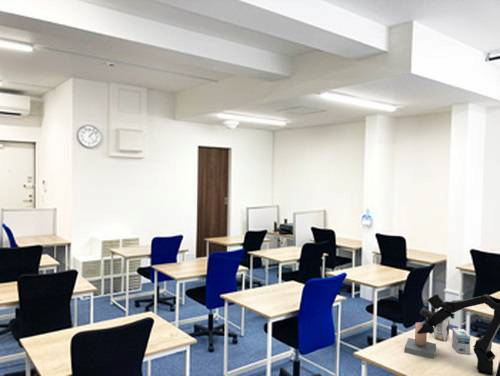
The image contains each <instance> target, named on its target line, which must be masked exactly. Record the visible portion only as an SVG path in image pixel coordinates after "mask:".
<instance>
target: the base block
mask: <svg viewBox="0 0 500 376" xmlns="http://www.w3.org/2000/svg"><path fill="white" fill-rule="evenodd" d="M436 350H437V343H435V342H434V343H433V342H429V341H426V345H418V344H416V343H415V338H412V337H408V338H407V341H406V342H405V345H404V353H406V354H410V355H415V356H419V357H422V358H428V359H431V360H434V358H435V354H436Z"/></svg>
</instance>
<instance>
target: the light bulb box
mask: <svg viewBox="0 0 500 376" xmlns="http://www.w3.org/2000/svg"><path fill="white" fill-rule="evenodd" d="M451 335H452V337H451V338H452V339H451V340H452V341H451V343H452V344H451V346H452V347H453V349H454V350H455V352H456V353H457V354H464V355H470V354H471V335H470V333H468V332H467V331H466V329H463V328H455V327H452V333H451Z"/></svg>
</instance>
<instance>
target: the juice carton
mask: <svg viewBox="0 0 500 376" xmlns="http://www.w3.org/2000/svg"><path fill="white" fill-rule="evenodd" d="M440 309H441V308H439V309H434V312H437V311H438V310H440ZM450 319H451V317H448V318H447V319H446V320H444V321H443V322H442V323H440V324H438V325H437V326H436V327H434V326H433V327H434V332H433V336H434V337H433V338H434V339H435V340H439V341H442V342H446V341H447V340H448V339H449V335H450Z"/></svg>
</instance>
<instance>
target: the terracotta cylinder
mask: <svg viewBox="0 0 500 376" xmlns="http://www.w3.org/2000/svg"><path fill="white" fill-rule="evenodd" d="M423 323H424V322H420V321H418V322H415V324H414V325H415V327H414V328H415V331H414V333H415V334H414V335H415V336H414V339H415V343H416V344H418V345H426V342H427V340H428V339H427V338H428V337H427V335H428V333H422V334H418V333H417V332H418V331H419V330H420V329H421V328H422V326H423Z"/></svg>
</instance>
